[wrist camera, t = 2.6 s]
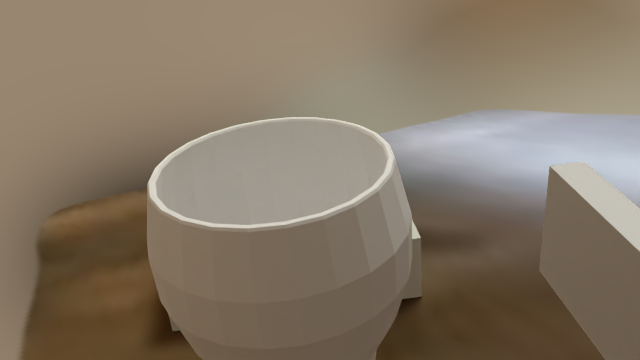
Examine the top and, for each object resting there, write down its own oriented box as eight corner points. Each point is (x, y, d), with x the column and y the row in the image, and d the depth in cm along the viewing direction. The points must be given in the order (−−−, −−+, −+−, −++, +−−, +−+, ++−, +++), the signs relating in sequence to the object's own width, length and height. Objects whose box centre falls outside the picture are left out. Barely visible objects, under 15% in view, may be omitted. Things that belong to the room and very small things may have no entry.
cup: (411, 353, 34) (405, 105, 27) (424, 539, 24) (418, 233, 18) (231, 354, 35) (180, 118, 28) (176, 531, 26) (80, 243, 19)
